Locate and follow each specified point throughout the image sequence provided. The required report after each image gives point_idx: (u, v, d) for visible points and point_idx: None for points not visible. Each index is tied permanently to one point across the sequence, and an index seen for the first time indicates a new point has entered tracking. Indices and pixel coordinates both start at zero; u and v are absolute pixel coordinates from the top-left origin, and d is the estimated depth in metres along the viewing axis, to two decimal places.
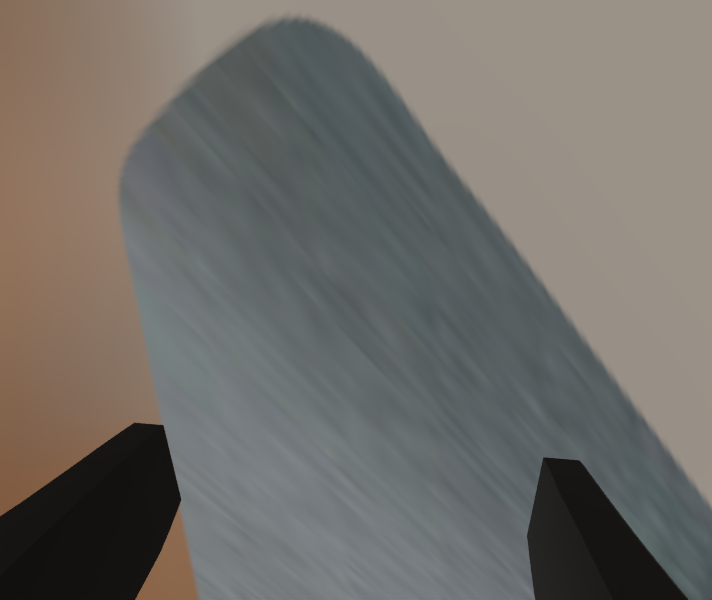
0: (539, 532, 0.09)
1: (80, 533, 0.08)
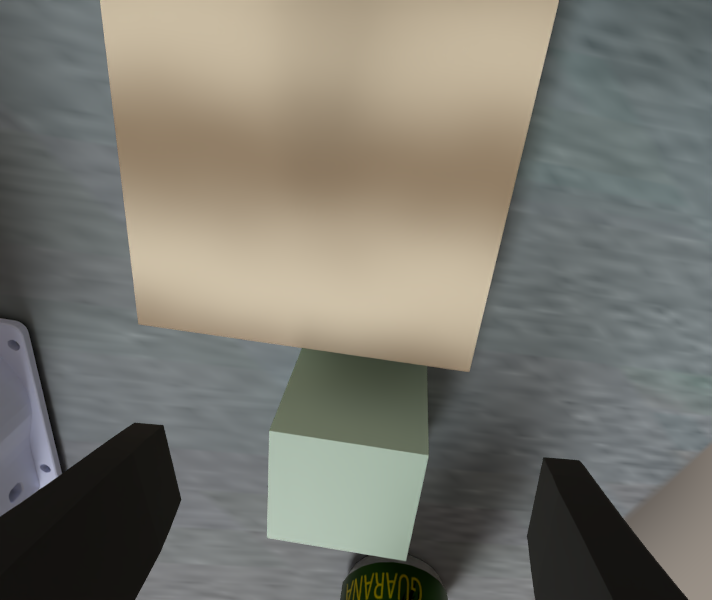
0: (539, 532, 0.09)
1: (80, 533, 0.08)
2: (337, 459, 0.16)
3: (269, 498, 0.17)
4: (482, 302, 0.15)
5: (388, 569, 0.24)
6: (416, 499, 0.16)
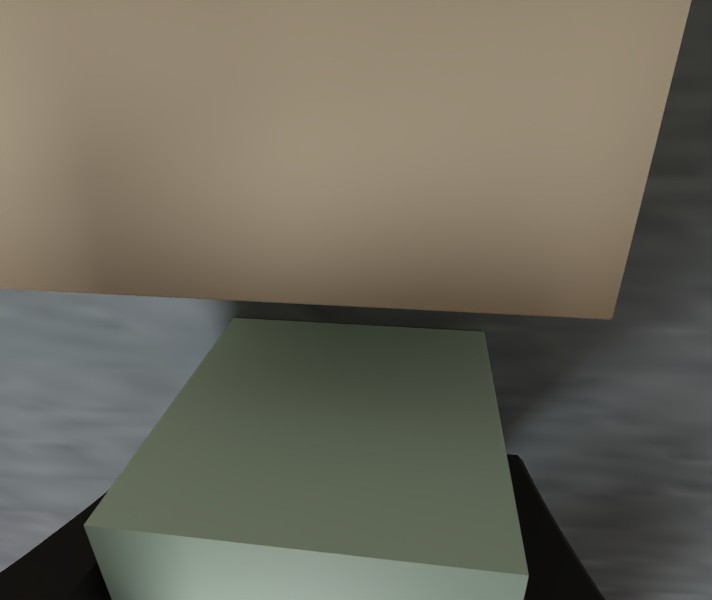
0: None
1: None
2: (275, 588, 0.06)
3: None
4: (658, 88, 0.05)
5: None
6: None
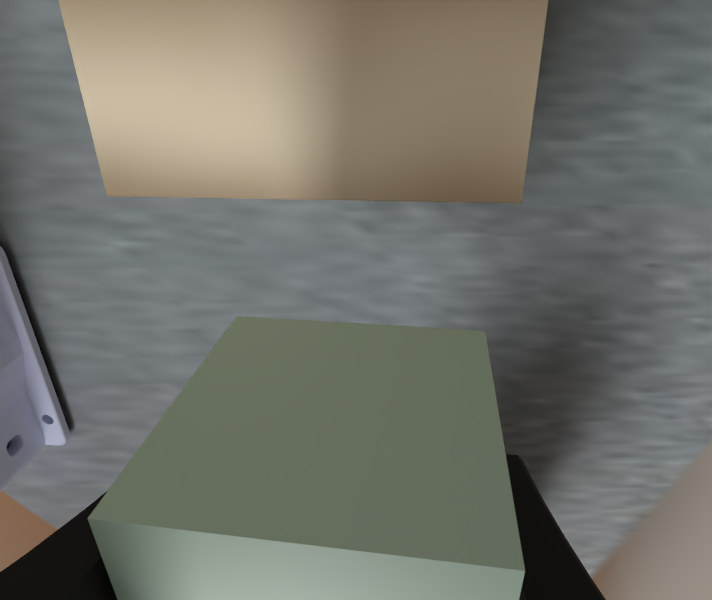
0: None
1: None
2: (274, 582, 0.06)
3: None
4: (531, 92, 0.11)
5: None
6: None
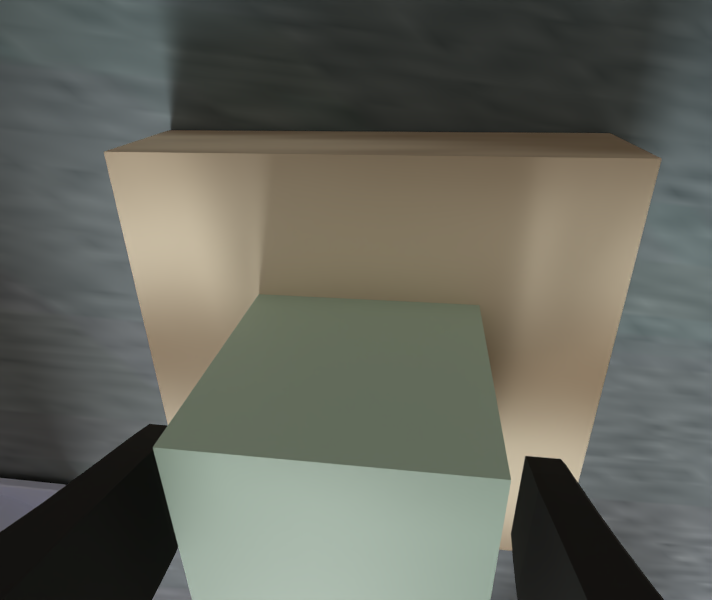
0: (521, 530, 0.09)
1: (99, 535, 0.07)
2: (306, 499, 0.07)
3: (190, 580, 0.09)
4: None
5: None
6: (488, 574, 0.07)
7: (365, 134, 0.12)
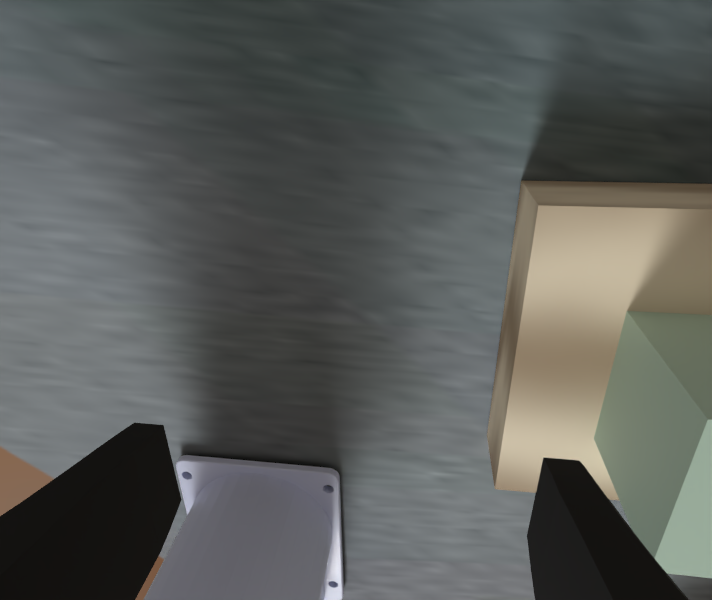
0: (539, 532, 0.09)
1: (80, 533, 0.08)
2: None
3: (673, 517, 0.12)
4: None
5: None
6: None
7: (697, 187, 0.16)
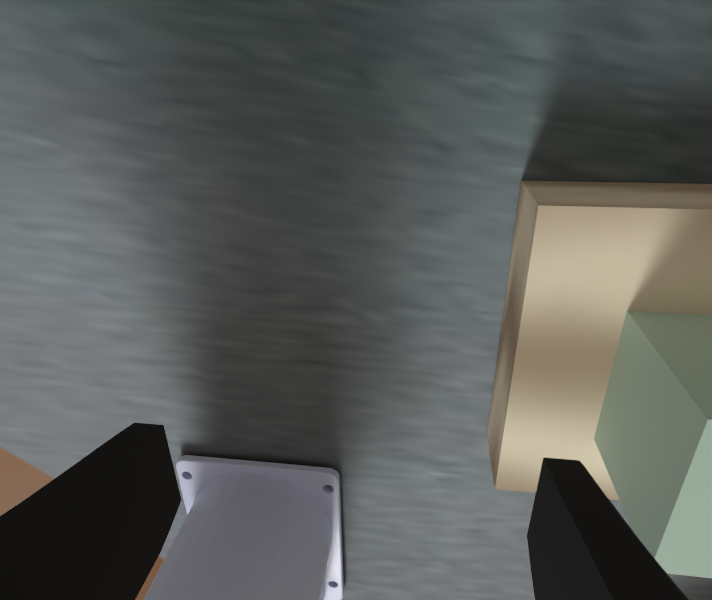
0: (539, 532, 0.09)
1: (80, 533, 0.08)
2: None
3: (673, 517, 0.12)
4: None
5: None
6: None
7: (697, 187, 0.16)
